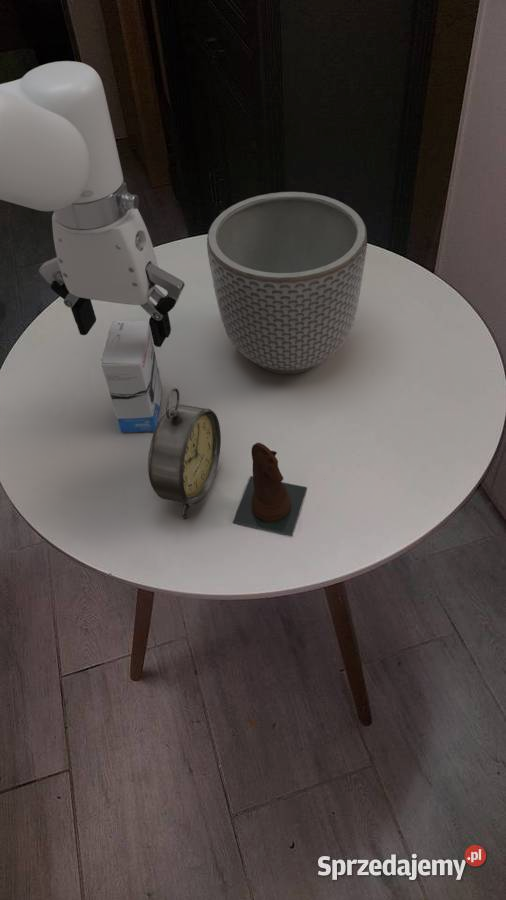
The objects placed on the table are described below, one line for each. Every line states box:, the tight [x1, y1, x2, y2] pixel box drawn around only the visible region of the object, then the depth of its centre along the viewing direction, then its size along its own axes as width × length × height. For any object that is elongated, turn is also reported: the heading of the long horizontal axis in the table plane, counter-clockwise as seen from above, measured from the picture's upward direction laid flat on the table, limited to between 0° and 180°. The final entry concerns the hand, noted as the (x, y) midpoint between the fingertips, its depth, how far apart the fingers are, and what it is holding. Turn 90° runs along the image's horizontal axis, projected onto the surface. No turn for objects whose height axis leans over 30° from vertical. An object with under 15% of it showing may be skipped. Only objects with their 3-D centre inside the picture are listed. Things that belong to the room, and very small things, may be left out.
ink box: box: [101, 320, 163, 434], centre depth 87 cm, size 8×5×12 cm, turn 179°
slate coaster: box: [232, 475, 308, 537], centre depth 80 cm, size 7×7×1 cm
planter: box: [206, 191, 368, 375], centre depth 90 cm, size 20×20×19 cm
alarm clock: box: [147, 387, 222, 520], centre depth 76 cm, size 11×5×16 cm, turn 161°
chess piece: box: [251, 442, 291, 522], centre depth 76 cm, size 5×5×10 cm
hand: (125, 333), depth 82 cm, fingers open, 9 cm apart
